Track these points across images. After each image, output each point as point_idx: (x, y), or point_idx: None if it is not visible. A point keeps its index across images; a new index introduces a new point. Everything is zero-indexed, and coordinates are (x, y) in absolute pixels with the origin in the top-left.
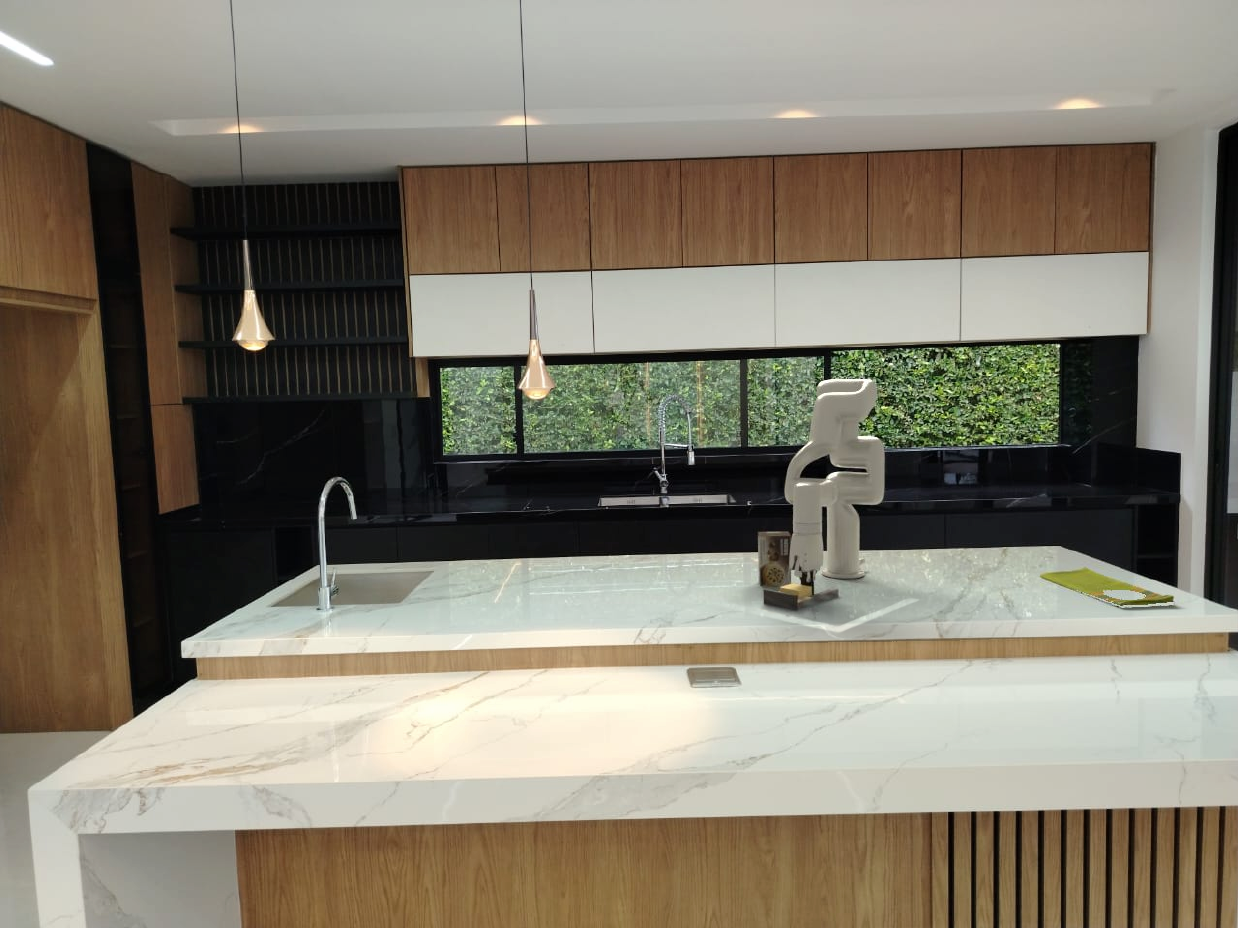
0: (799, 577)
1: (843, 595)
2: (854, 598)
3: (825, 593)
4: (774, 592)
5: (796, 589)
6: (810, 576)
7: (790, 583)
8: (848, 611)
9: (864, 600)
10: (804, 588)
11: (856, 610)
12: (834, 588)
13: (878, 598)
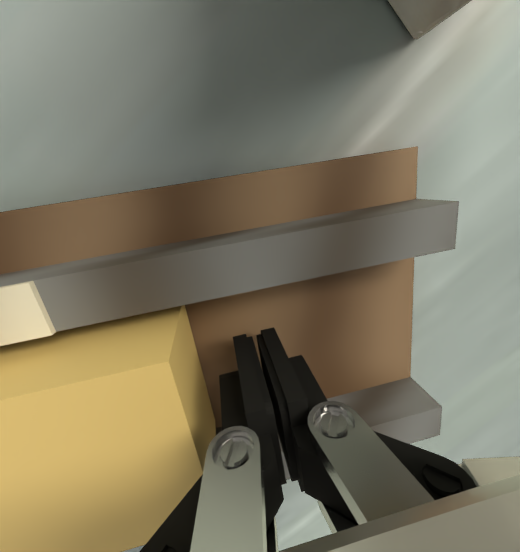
0: (167, 522)
1: (485, 335)
2: (466, 395)
3: None
4: None
5: (23, 545)
6: (334, 496)
7: (454, 4)
8: (279, 517)
9: (460, 434)
10: (120, 541)
11: (314, 517)
12: (436, 417)
13: (515, 436)
